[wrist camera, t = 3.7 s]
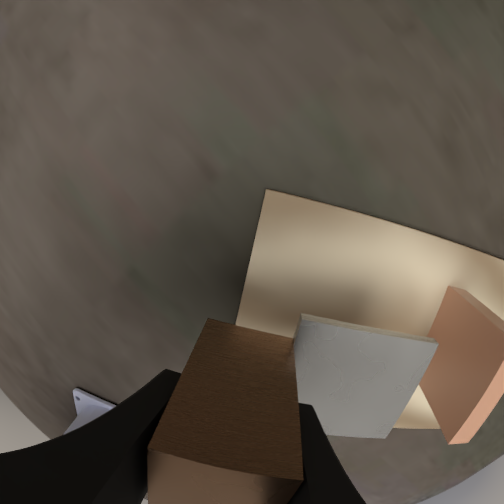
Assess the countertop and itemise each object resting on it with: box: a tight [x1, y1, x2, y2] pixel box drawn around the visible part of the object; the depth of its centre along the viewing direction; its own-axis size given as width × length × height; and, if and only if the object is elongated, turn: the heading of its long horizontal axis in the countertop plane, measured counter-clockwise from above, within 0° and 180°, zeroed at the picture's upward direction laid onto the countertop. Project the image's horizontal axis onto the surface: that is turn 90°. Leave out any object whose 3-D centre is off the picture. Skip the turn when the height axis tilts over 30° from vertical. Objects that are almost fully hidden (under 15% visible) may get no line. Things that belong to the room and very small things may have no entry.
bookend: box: [147, 313, 439, 504], centre depth 8 cm, size 5×8×6 cm, turn 77°
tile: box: [419, 285, 504, 444], centre depth 13 cm, size 6×2×7 cm, turn 167°
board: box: [235, 189, 504, 429], centre depth 17 cm, size 14×22×1 cm, turn 77°
